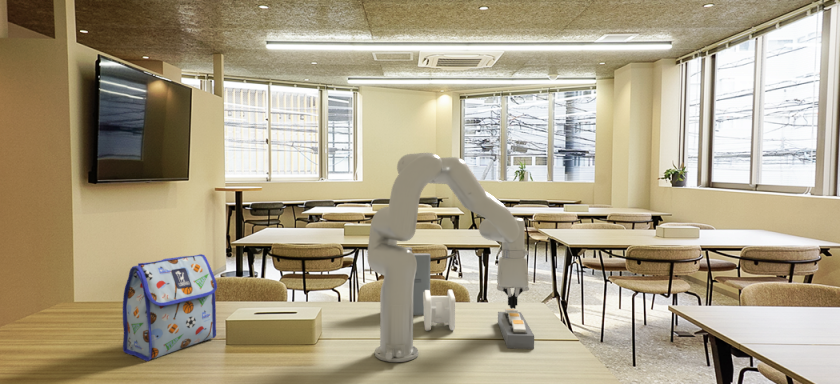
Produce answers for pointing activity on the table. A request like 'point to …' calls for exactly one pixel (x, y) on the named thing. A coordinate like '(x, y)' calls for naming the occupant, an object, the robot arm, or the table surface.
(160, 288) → the lunch bag
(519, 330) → the plate
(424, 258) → the blue-grey tall flat block
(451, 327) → the cable organizer
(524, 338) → the power strip
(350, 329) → the table surface
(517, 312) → the far rocker
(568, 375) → the table surface
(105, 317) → the table surface
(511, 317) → the middle rocker
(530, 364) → the table surface
